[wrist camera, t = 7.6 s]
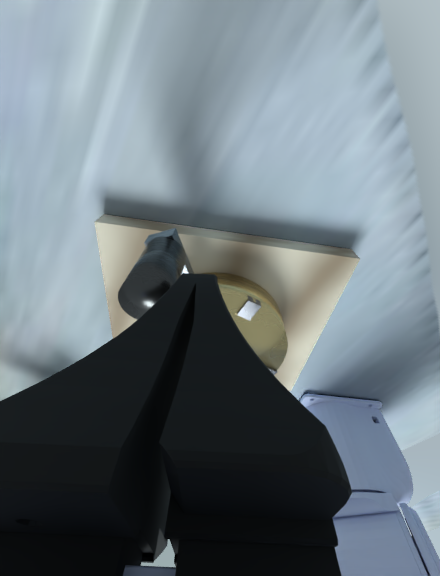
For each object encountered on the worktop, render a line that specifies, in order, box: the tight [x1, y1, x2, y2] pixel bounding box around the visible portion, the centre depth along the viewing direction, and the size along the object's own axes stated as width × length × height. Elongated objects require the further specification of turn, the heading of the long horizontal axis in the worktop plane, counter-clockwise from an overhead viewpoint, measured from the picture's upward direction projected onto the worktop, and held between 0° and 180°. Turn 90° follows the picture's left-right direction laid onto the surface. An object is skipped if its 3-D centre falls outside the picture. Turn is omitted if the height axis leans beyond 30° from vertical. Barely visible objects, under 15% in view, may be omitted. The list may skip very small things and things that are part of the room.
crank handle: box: [118, 228, 288, 375], centre depth 17 cm, size 16×11×8 cm
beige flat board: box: [95, 214, 360, 391], centre depth 22 cm, size 18×16×2 cm
